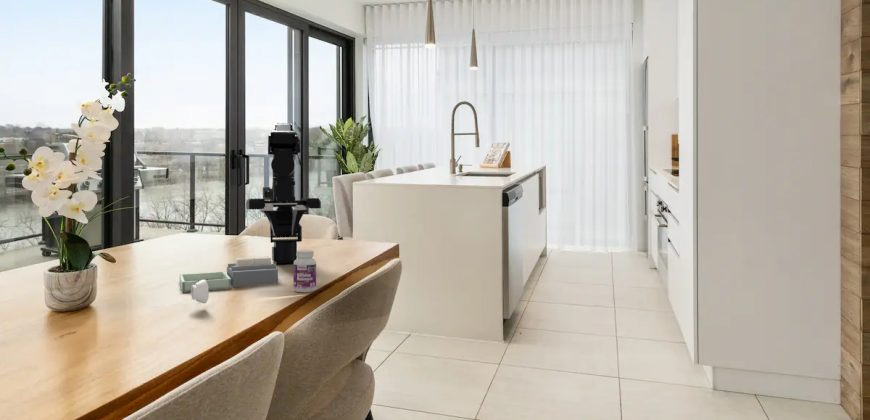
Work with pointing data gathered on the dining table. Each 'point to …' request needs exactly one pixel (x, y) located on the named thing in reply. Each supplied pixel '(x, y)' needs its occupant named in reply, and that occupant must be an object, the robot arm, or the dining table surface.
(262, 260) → the tile
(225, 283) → the tray
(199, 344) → the dining table surface
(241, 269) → the bench board
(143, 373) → the dining table surface
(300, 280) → the pill bottle
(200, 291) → the white flared knob
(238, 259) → the tile
